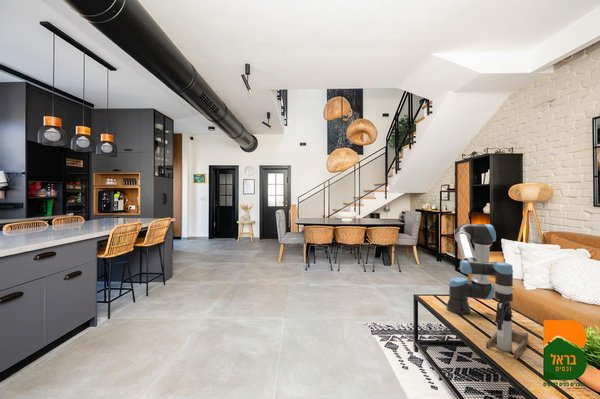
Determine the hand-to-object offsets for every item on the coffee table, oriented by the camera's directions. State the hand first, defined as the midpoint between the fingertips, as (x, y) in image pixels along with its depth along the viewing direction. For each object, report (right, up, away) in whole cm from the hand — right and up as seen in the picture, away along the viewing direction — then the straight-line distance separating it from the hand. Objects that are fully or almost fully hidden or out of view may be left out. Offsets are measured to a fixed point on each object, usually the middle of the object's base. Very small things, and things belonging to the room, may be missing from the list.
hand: (504, 331), depth 139 cm
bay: (+6, -10, +5) cm, 13 cm away
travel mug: (0, -10, 0) cm, 10 cm away
